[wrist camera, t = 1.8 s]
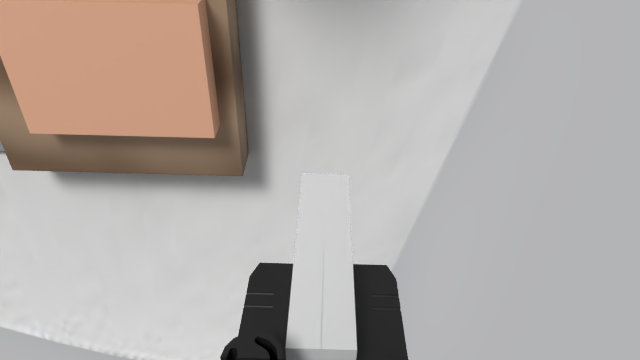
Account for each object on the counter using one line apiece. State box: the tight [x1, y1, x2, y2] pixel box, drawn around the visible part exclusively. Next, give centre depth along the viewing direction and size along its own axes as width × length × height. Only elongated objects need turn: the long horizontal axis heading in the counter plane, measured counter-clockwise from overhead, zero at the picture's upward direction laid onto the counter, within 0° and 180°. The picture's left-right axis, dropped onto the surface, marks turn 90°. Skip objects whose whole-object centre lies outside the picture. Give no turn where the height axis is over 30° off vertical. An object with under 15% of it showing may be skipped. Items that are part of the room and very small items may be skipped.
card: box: [0, 0, 220, 138], centre depth 24 cm, size 7×10×2 cm
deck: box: [0, 0, 248, 176], centre depth 26 cm, size 14×14×2 cm
